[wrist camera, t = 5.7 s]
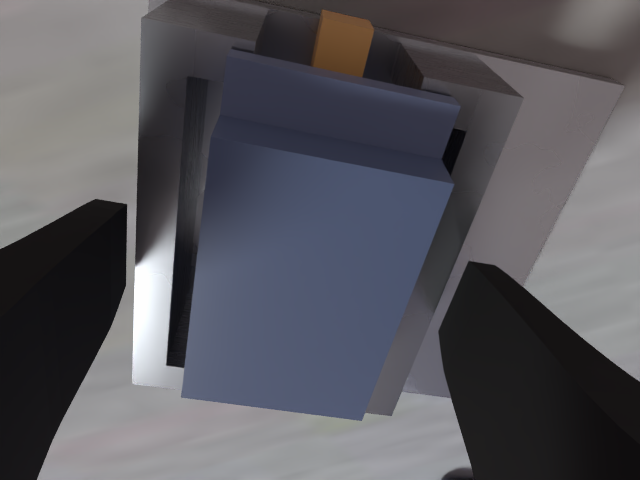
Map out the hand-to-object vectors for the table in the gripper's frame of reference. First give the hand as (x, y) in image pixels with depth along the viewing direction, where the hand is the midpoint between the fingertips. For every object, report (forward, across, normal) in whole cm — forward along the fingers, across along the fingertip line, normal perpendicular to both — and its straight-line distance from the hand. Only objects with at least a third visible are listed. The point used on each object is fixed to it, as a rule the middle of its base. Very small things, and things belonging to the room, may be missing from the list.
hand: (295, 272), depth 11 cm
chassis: (+4, -2, +1) cm, 4 cm away
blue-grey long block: (+3, 0, 0) cm, 3 cm away
